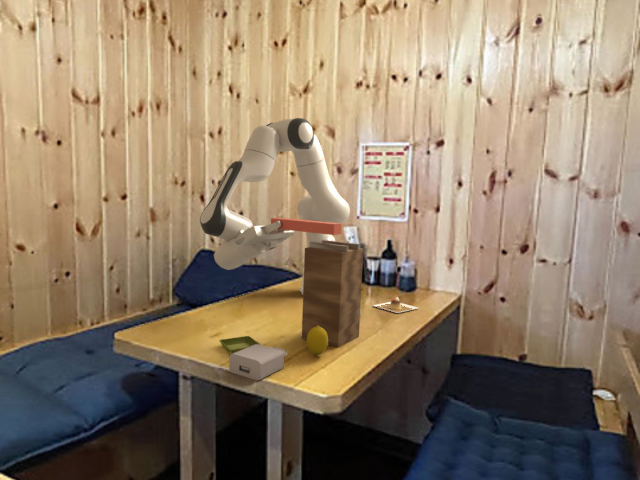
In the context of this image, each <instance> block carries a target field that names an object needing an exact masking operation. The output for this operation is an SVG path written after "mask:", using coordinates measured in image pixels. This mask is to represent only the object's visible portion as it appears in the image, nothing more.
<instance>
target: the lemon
mask: <svg viewBox="0 0 640 480" xmlns="http://www.w3.org/2000/svg"><path fill="white" fill-rule="evenodd" d="M328 346H329V345H328V336H327V332H326V331H325V330H324V329H323V328H321V327H320V326H316V327H314V328H312V329H311V330H310V331H309V333H308V335H307V340H306V347H307V349H308V351H309V352H310V353H312V354H314V356H315V357H318V356H320V355H321V354H323V353H324V352H326V350H327V348H328Z"/></svg>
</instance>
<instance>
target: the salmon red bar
mask: <svg viewBox="0 0 640 480" xmlns="http://www.w3.org/2000/svg"><path fill="white" fill-rule="evenodd" d="M276 221H282V223H283V226H282V227H280V228H277V229H283V230H292V231H295V232H304V233H306V232H310V233H320V234H329V235H332V236H336V235H337V236H338V235H342V224H341V223H331V222H320V221H309V220H302V219H297V218H286V217H285V218H284V217H270V224H272V223H275V222H276Z"/></svg>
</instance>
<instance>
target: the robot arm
mask: <svg viewBox="0 0 640 480" xmlns="http://www.w3.org/2000/svg"><path fill="white" fill-rule="evenodd" d="M279 152H282V153H283V152H284V153H285V152H286V153H287V152H292V154H293V157H294V161H295V163H294V164H295V165H296V170H297V174H298V177H299V181H300V185H301V186H302V188H303V189H305V190H306V192H307V193H308V194H309V195H307V196H304V197H302V198H300V200H299V201H298V203H297V206H296V209H297V210H296V211H297V214H298V216H299V217H300V220H309V221H320V222H331V223H341V225H343V224H344V223H346V222H347V221H348V220H349V217H350V213H351V209H350V205H349V203H348V202H347V201H346V199H344V198H343V197H342V195H340V193H339V192H338V190H337V188H336V187H335V185H334V183H333V181H332V179H331V176H330V174H329V171H328V166H327V163H326V158H325V155H324V152H323V149H322V145H321V144H320V141H319V139H318V137H317V135H316V134H315V131H314V128H313V126H312V124H311V123H310V121H308V120H307V119H306V118H305V119H304V118H302V117H301V118H300V117H295V118H287V119H286V118H285V119H281V120H279V121H275V122H269V123H268V124H266V125H258V126H257V127H255V128H254V129H253V131H252V133H251V134H250V137H249V139H248V141H247V142H246V145H245V148H244V150H243V153H242V155H241V157H240V158H239V160H235V161H234V162H232V163H231V164H230V165H229V166H228V167H227V169H226V171H225V172H224V175H223V176H222V178H221V180H220V182H219V183H218V186H217V188H216V190H215V191H214V194H213V195H212V197H211V199H210V200H209V203H207V205H206V206H205V208H204V209H203V211H202V212H201V214H200V217H199V224H200V226H201V227H200V228H201V229H202V231H203V233H205V235H209V236H212V237H216V238H219V239H221V240H222V243H221V245H220V247H218V249H217V250H216V251H214V253H213V258H214V261H215V263H216V264H217V266H219V267H220V268H222V269H225V270H228V271H230V270H234V269H236V268H240V267H241V266H243V265H245V264H246V263H248V262H249V260H251V259H255V258H257V257H258V256H260V255H263V254H264V253H266V252H268V251H271V250H273V249H275V248H278V245H279V244H281V243H283V242H284V241H286V240H287V239H289V238H291V236H293V235H294V234H295V232H296V231H292V230H283V229H277V228H280V227H282V226H283V223H282V221H276V222H275V223H272V224H271V223H269V224H263V225H262V224H261V225H254V223H253V221H252V220H251V219H250V218H248V217H246V216H244V215H243V214H241V213H237V212H235V211H233V210H231V209H229V208H228V203H229V202H230V200H231V198H232V196H233V193H234V192H235V190H236V188H237V186H238V184H240V183H242V182H246V183H247V182H248V183H258V182H262V181H265V180H267V179H268V178H269V177H270V176H271V174H272V172H273V169H274V167H275V163H276V160H277V157H278V153H279ZM305 234H306V242H307V243H306V244H307V245H306V246H307V247H306V248H308V247H309V242H318V243H322V240H329V241H336V238H335V237H334V235H329V234H320V233H310V232H305ZM302 274H303V275H302V280H301V281H302V282H301V287H299V292H300V293H301V295H302V296H303V285H304V272H303V273H302Z"/></svg>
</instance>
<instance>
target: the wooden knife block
mask: <svg viewBox="0 0 640 480" xmlns="http://www.w3.org/2000/svg"><path fill="white" fill-rule="evenodd" d="M360 245H361V244H360V243H353V242H346V241H345V242H344V241H343V242H342V241H336V240H335V241H329V240H322V243H318V242H309V247H308V248H307V247H305V248H304V258H303V259H304V262H303V263H304V265H303V273H304V285H303V295H302V317H301V318H302V320H301V340H306V341H307V335H308V333H309V331H310V330H311V329H312V328H314V327H316V326H320V327H321V328H323V329H324V330H325V331H326V332H327V336H328V346H329V347H330V346H331V347H333V348H341V347H342V346H344V345H346V344H348V343H350V342H352V341H353V340H355V339H357V338H359V337H360V321H361V316H360V307H361V302H362V301H361V299H362V281H363V259H364V248H363V247H362V248H361V246H360Z"/></svg>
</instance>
